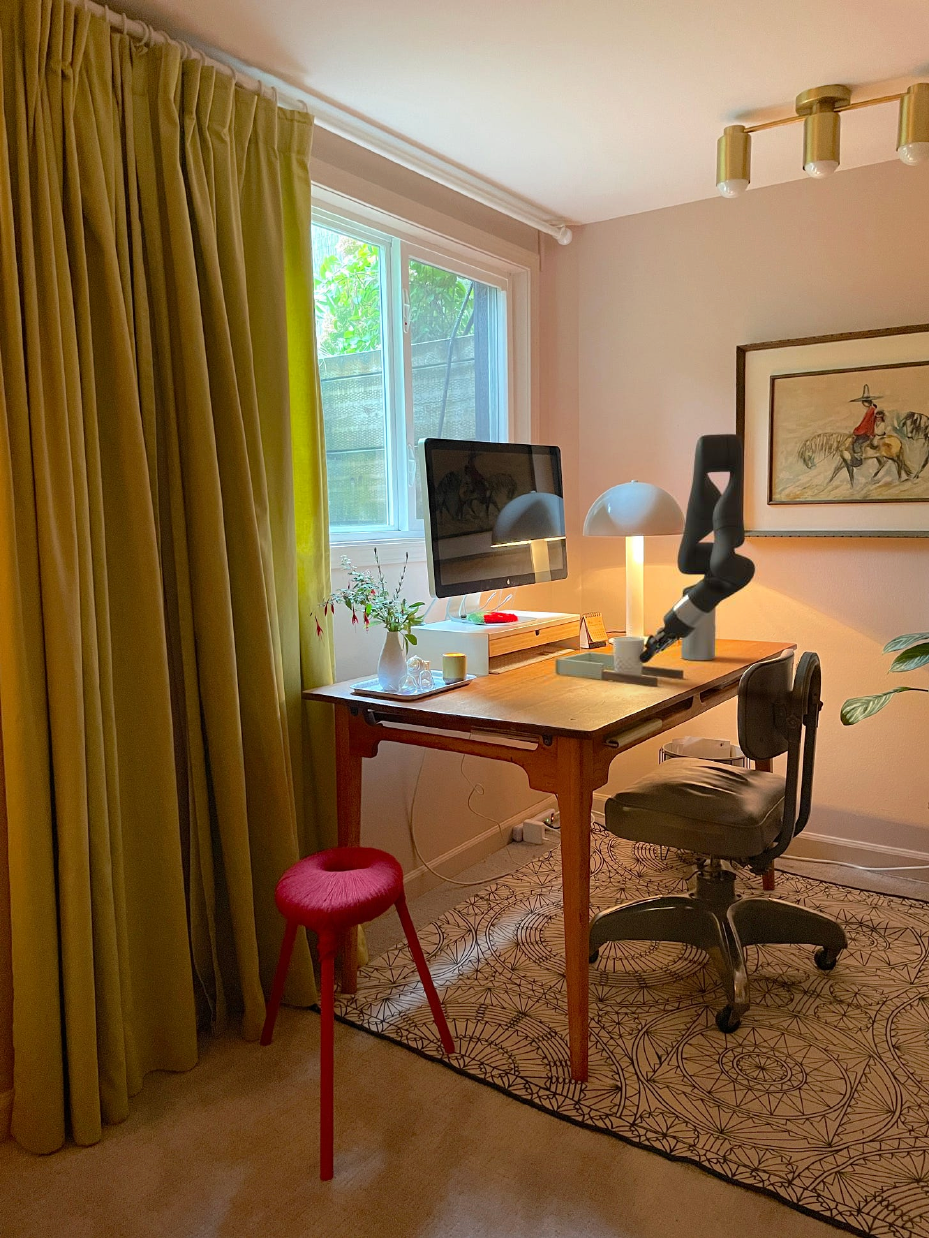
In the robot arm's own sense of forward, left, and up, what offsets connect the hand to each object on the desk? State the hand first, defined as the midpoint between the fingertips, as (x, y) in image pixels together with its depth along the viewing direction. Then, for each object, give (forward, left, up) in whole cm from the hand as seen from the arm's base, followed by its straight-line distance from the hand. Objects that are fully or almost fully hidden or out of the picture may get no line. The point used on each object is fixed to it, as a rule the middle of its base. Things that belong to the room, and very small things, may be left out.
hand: (642, 660), depth 238 cm
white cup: (0, -4, -5) cm, 7 cm away
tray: (0, -14, -5) cm, 15 cm away
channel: (0, 0, -5) cm, 5 cm away
